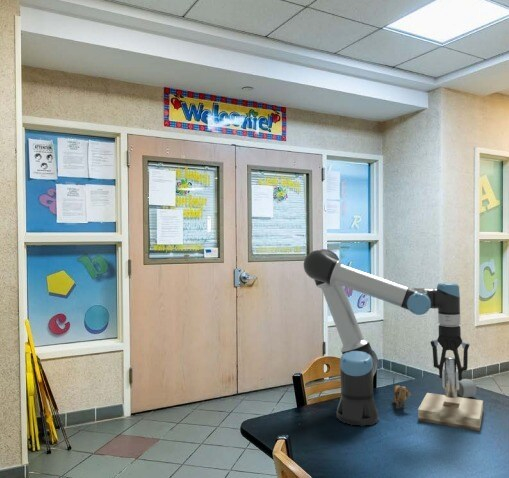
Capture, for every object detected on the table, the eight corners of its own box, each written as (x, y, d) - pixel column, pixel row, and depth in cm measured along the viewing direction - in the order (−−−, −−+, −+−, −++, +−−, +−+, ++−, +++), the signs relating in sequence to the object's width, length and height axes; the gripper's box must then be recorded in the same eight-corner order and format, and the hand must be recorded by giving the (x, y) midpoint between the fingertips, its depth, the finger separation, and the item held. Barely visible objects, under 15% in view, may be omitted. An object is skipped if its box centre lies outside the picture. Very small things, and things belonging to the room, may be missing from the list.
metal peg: (444, 396, 166) (443, 358, 166) (446, 393, 170) (445, 356, 170) (456, 398, 164) (455, 360, 164) (457, 395, 168) (456, 357, 168)
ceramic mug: (478, 398, 184) (478, 379, 184) (464, 401, 181) (463, 382, 181) (457, 391, 194) (457, 373, 194) (443, 394, 190) (442, 376, 191)
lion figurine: (412, 411, 172) (411, 388, 172) (398, 412, 172) (397, 388, 172) (400, 398, 186) (399, 376, 186) (387, 398, 186) (386, 376, 187)
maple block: (418, 420, 163) (417, 409, 163) (427, 402, 181) (427, 392, 181) (479, 431, 153) (479, 419, 153) (483, 411, 171) (482, 400, 171)
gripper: (423, 324, 168) (425, 387, 168) (473, 328, 160) (475, 394, 160) (426, 321, 175) (428, 382, 175) (475, 324, 166) (477, 388, 166)
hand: (450, 387), depth 167 cm, fingers closed on metal peg, 4 cm apart
